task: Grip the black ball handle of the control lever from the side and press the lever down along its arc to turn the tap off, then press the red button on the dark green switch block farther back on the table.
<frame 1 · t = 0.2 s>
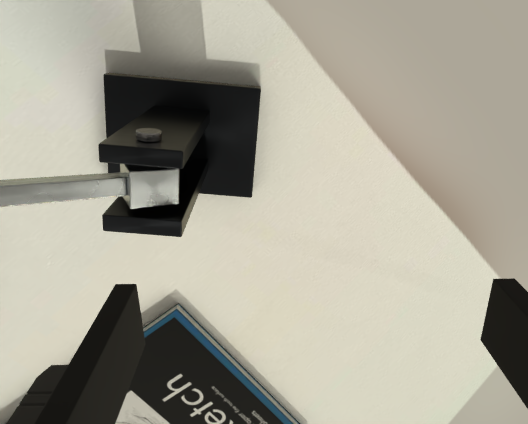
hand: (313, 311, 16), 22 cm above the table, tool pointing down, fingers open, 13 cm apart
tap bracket: (184, 135, 37), on the table
control lever: (39, 190, 23), point 15 cm above the table, hinge at 28.0°
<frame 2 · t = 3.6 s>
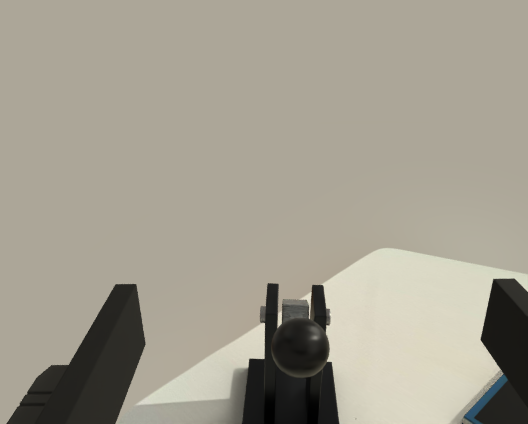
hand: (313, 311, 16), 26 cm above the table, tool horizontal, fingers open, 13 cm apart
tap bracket: (290, 414, 43), on the table
control lever: (297, 329, 33), point 15 cm above the table, hinge at 28.0°
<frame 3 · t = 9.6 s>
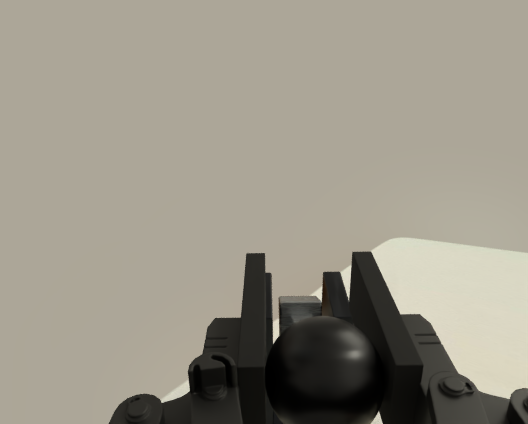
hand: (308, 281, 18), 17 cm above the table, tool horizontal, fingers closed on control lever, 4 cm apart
control lever: (308, 341, 19), point 15 cm above the table, hinge at 28.0°, touching gripper
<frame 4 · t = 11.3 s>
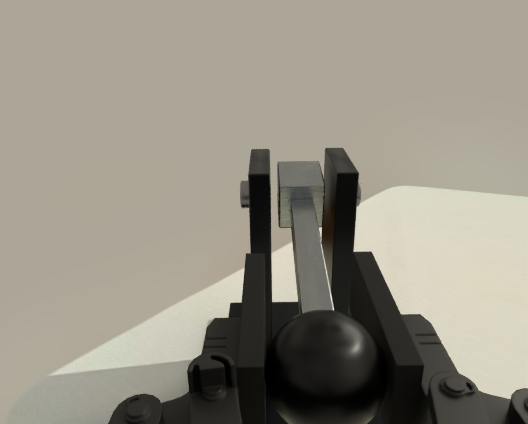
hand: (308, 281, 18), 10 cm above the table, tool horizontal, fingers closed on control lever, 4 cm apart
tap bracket: (296, 375, 27), on the table
control lever: (309, 262, 18), point 11 cm above the table, hinge at -8.2°, touching gripper
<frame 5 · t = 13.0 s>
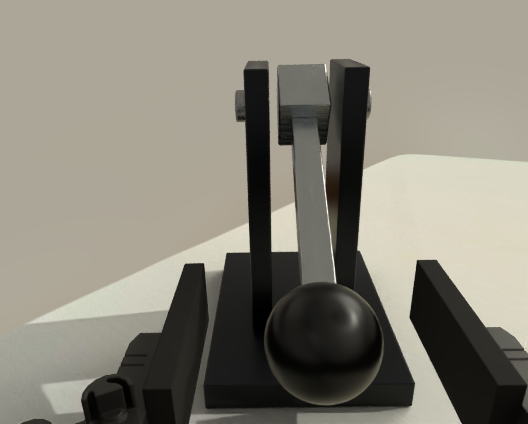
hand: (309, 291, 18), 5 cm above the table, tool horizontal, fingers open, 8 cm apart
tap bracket: (299, 322, 25), on the table
control lever: (310, 204, 17), point 9 cm above the table, hinge at -30.4°
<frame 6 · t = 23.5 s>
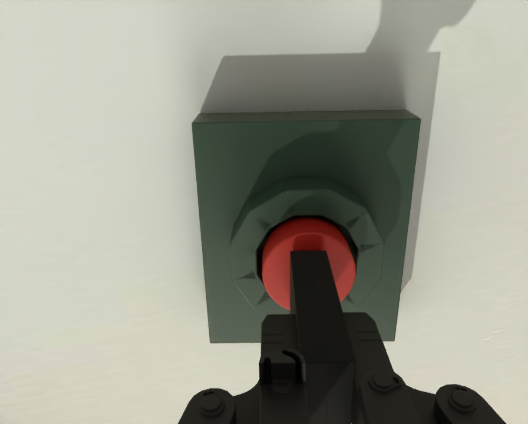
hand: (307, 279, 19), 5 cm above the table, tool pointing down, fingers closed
switch block: (300, 224, 24), on the table
stop button: (307, 265, 20), point 4 cm above the table, slide at -0.1 cm, touching gripper
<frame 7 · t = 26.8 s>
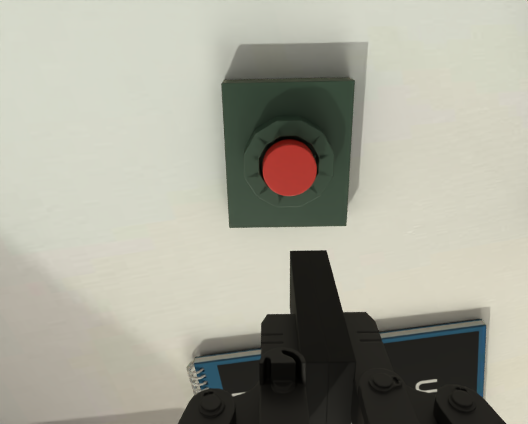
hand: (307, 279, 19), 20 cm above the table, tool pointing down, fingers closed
switch block: (286, 152, 37), on the table
sketchbook: (340, 413, 49), on the table
stop button: (289, 167, 33), point 4 cm above the table, slide at 0.1 cm
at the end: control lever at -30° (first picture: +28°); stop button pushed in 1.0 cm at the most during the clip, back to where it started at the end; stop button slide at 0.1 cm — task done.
